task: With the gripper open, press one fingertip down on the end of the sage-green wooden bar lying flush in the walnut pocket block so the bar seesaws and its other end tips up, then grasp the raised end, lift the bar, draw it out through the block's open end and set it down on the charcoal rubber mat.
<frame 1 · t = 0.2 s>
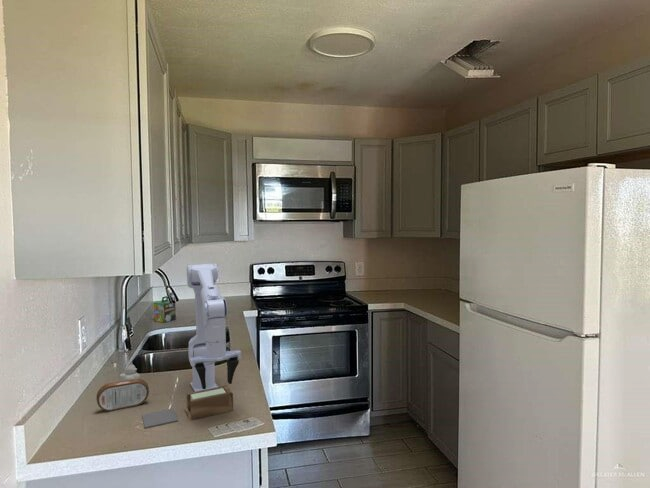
hand: (216, 385, 124), 10 cm above the worktop, tool pointing down, fingers open, 7 cm apart
mat: (159, 418, 125), on the worktop
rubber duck: (130, 384, 153), on the worktop
pocket block: (208, 410, 130), on the worktop
tin: (123, 408, 133), on the worktop
sage bar: (208, 401, 130), point 3 cm above the worktop, touching pocket block
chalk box: (165, 321, 252), on the worktop
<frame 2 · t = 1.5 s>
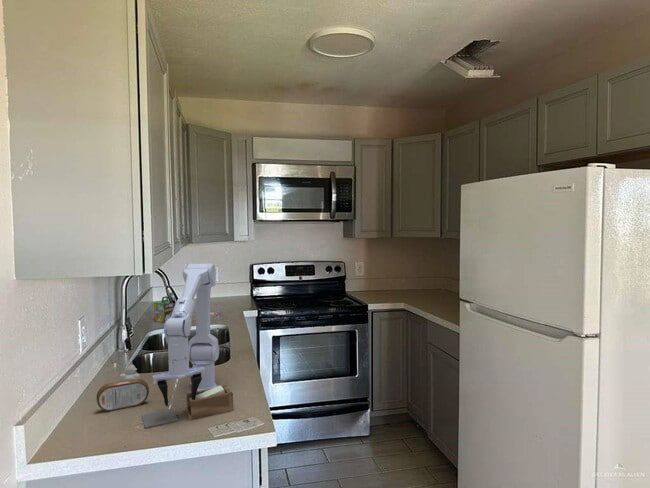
hand: (180, 402, 126), 5 cm above the worktop, tool pointing down, fingers open, 7 cm apart
sage bar: (208, 400, 130), point 3 cm above the worktop, tilted 13°, touching pocket block
everything else where it was.
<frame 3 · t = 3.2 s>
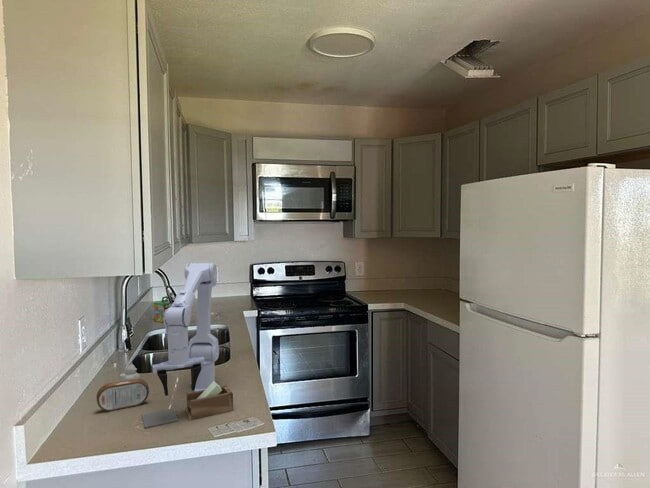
hand: (179, 391, 126), 8 cm above the worktop, tool pointing down, fingers open, 7 cm apart
sage bar: (208, 400, 130), point 3 cm above the worktop, tilted 40°, touching pocket block
everything else where it was.
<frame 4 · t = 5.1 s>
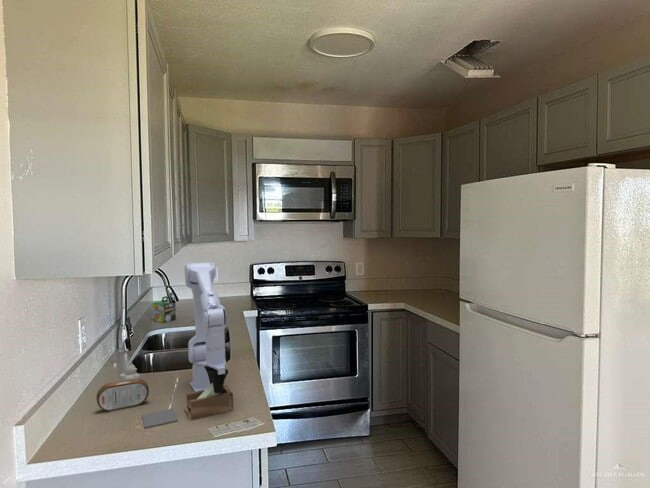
hand: (216, 389, 131), 6 cm above the worktop, tool pointing down, fingers closed on sage bar, 4 cm apart
sage bar: (208, 400, 130), point 3 cm above the worktop, tilted 40°, touching gripper, pocket block
everything else where it was.
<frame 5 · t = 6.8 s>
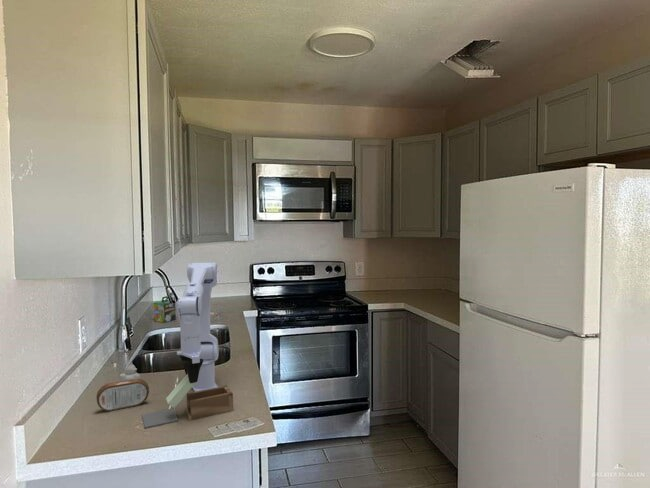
hand: (191, 379, 128), 10 cm above the worktop, tool pointing down, fingers closed on sage bar, 4 cm apart
sage bar: (185, 391, 127), point 7 cm above the worktop, tilted 45°, touching gripper
everything else where it was.
when the fingers open (7 cm above the worktop, at t = 8.4 s): sage bar drops 4 cm, resting on mat.
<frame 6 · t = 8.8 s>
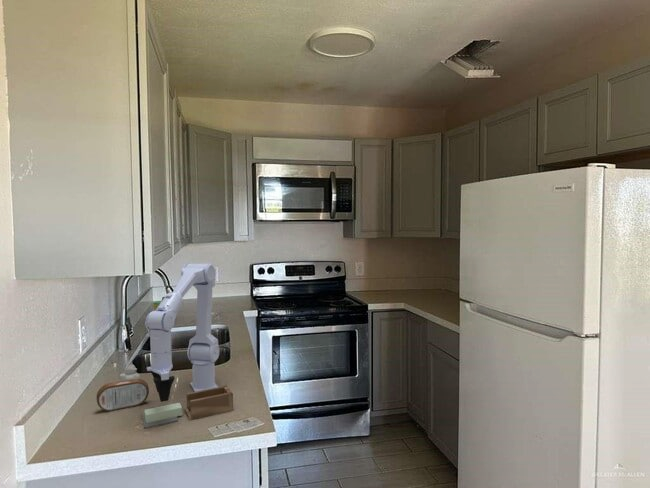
hand: (162, 396, 125), 7 cm above the worktop, tool pointing down, fingers open, 7 cm apart
sage bar: (163, 416, 126), resting on mat
everything else where it was.
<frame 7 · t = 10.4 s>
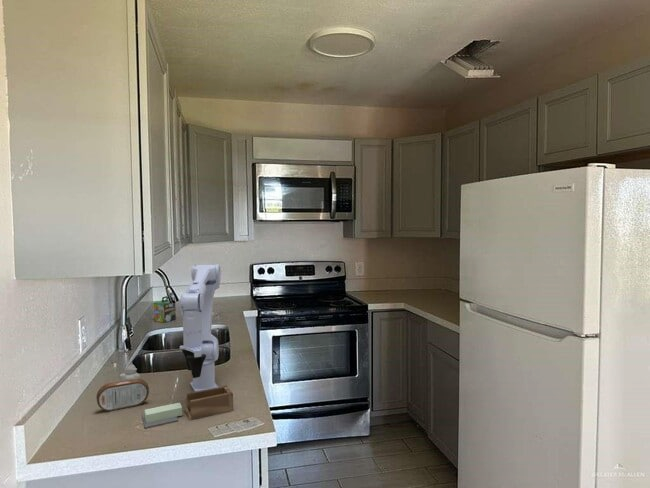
hand: (194, 373, 133), 10 cm above the worktop, tool pointing down, fingers open, 7 cm apart
nothing on the worktop moved.
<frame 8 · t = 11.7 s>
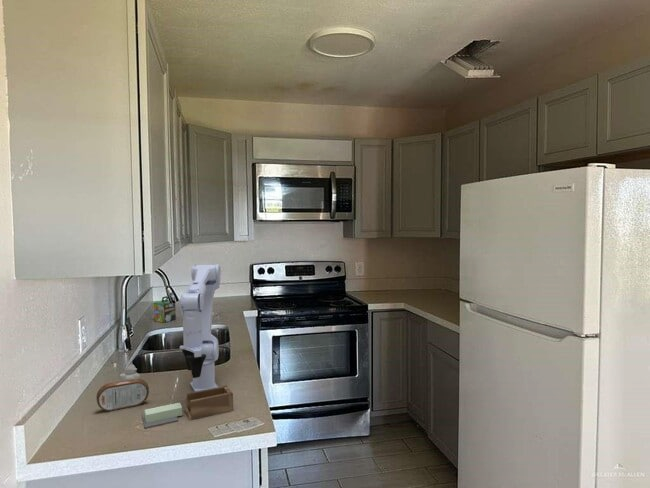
hand: (194, 373, 133), 10 cm above the worktop, tool pointing down, fingers open, 7 cm apart
nothing on the worktop moved.
at the end: sage bar inside the target area (1.6 cm from its centre), resting on mat; sage bar tilted 0°; sage bar moved 13.3 cm from its start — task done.
